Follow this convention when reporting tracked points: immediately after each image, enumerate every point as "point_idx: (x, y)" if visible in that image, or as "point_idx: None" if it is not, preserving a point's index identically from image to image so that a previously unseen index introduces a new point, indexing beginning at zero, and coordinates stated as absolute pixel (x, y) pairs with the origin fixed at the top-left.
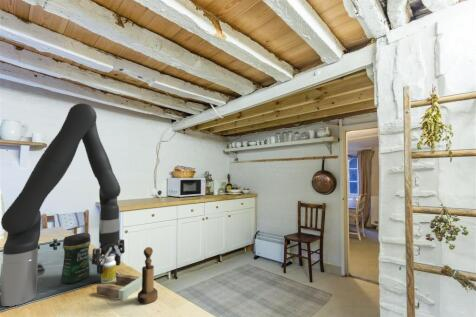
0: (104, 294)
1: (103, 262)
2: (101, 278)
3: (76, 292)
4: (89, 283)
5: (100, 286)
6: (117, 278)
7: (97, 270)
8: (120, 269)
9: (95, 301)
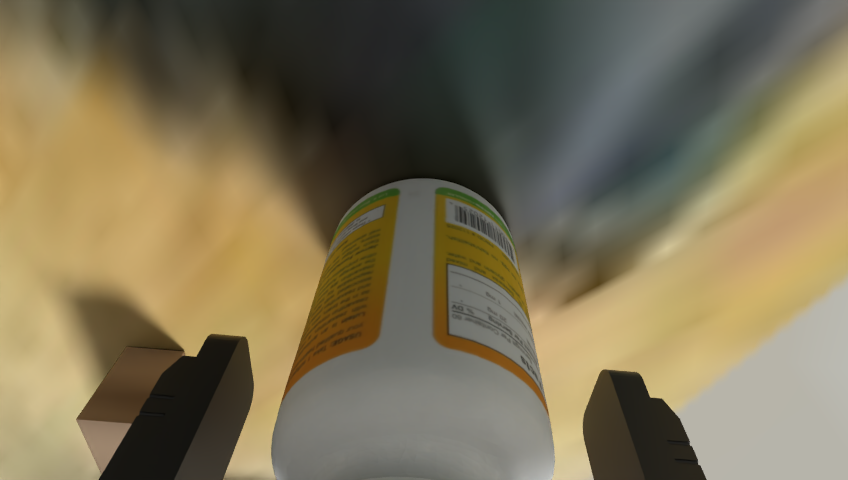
0: None
1: (330, 456)
2: (329, 254)
3: (3, 107)
4: (262, 66)
5: (96, 449)
6: None
7: (154, 402)
8: (819, 176)
9: (53, 404)
